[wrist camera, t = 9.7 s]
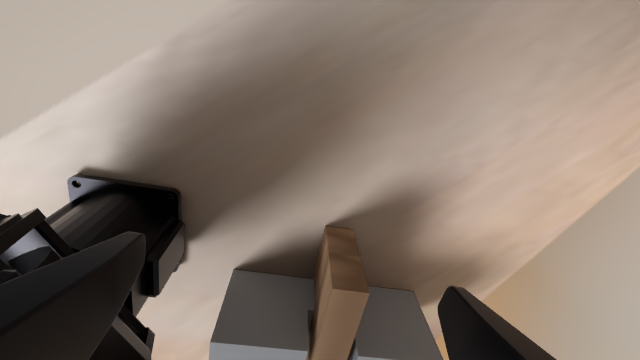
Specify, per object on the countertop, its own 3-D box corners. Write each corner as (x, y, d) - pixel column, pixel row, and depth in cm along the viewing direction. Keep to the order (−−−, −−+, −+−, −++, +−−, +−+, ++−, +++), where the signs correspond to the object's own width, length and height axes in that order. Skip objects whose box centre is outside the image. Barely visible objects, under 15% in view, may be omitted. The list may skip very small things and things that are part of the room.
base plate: (231, 294, 23) (208, 370, 18) (233, 269, 22) (210, 342, 17) (404, 313, 25) (432, 389, 19) (413, 291, 24) (445, 364, 19)
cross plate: (297, 344, 26) (294, 425, 20) (325, 225, 21) (332, 288, 16) (320, 346, 26) (324, 426, 21) (353, 229, 21) (369, 293, 16)
